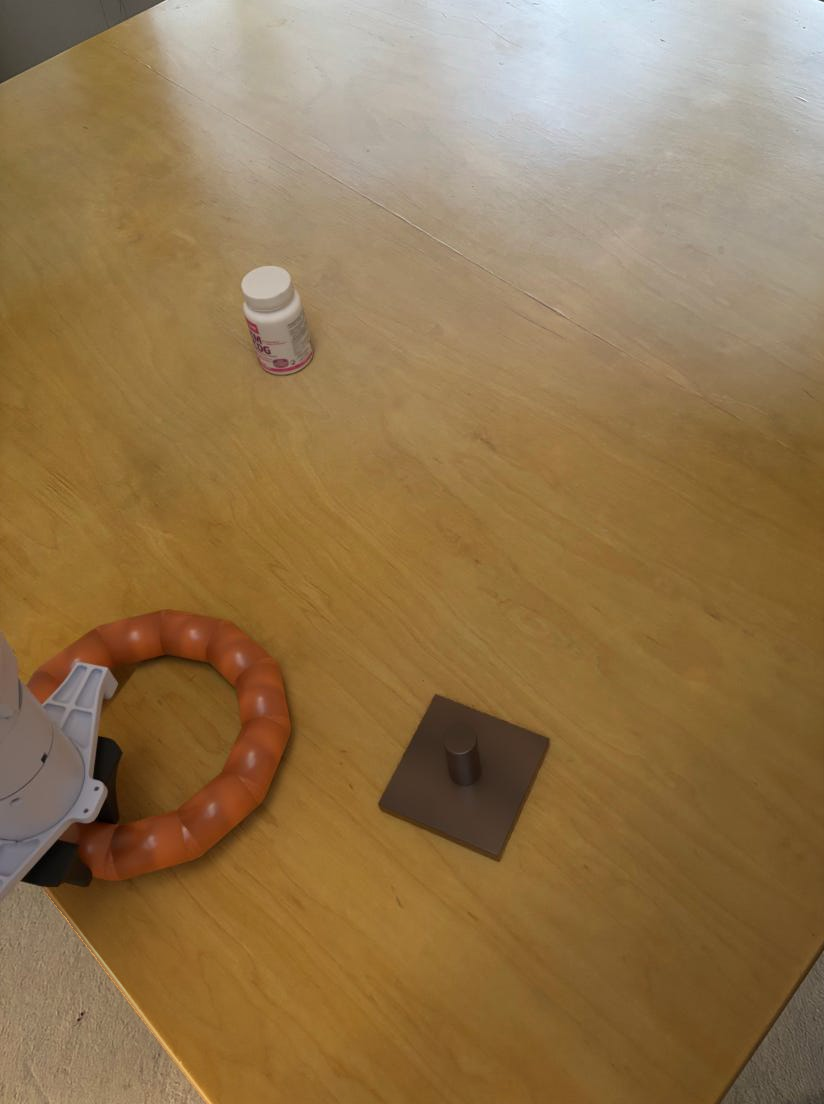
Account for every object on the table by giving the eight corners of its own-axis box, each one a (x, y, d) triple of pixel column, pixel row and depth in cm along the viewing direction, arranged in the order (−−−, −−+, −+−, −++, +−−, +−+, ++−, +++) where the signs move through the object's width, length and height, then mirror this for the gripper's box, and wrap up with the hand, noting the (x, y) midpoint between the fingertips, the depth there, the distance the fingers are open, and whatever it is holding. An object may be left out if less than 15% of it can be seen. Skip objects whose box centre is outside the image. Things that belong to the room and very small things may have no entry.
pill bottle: (248, 369, 91) (224, 293, 84) (275, 332, 94) (254, 256, 87) (297, 382, 90) (277, 306, 83) (324, 344, 92) (306, 268, 86)
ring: (224, 916, 61) (212, 895, 59) (-53, 848, 64) (-73, 826, 62) (329, 654, 73) (323, 629, 71) (91, 609, 76) (78, 583, 74)
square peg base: (498, 862, 63) (494, 827, 59) (379, 810, 66) (367, 772, 61) (550, 745, 68) (549, 704, 63) (436, 700, 70) (428, 658, 66)
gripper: (-10, 918, 47) (94, 996, 58) (133, 636, 56) (200, 748, 67) (-147, 882, 49) (-22, 965, 59) (13, 613, 57) (97, 726, 68)
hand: (88, 848), depth 63 cm, fingers closed on ring, 3 cm apart
